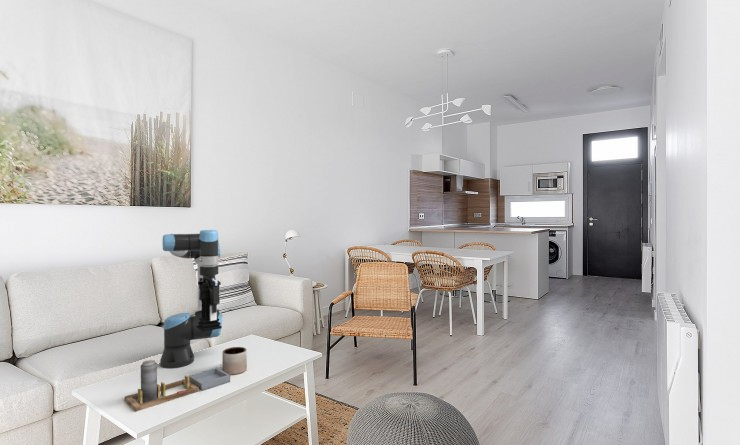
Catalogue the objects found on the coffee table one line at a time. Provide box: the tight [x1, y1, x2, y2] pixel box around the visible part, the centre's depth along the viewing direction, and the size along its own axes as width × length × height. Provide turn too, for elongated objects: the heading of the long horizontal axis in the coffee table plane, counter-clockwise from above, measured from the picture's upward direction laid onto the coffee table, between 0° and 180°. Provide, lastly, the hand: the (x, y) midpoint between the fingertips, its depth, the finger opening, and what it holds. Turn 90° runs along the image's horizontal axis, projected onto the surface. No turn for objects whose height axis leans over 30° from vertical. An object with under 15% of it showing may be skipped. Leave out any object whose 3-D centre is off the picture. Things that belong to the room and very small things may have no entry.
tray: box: [188, 367, 231, 392], centre depth 176 cm, size 13×13×3 cm
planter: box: [221, 346, 248, 376], centre depth 189 cm, size 11×11×10 cm
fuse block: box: [123, 359, 200, 412], centre depth 162 cm, size 13×24×15 cm, turn 137°
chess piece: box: [197, 281, 223, 331], centre depth 175 cm, size 8×8×20 cm
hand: (209, 318), depth 175 cm, fingers closed on chess piece, 7 cm apart
